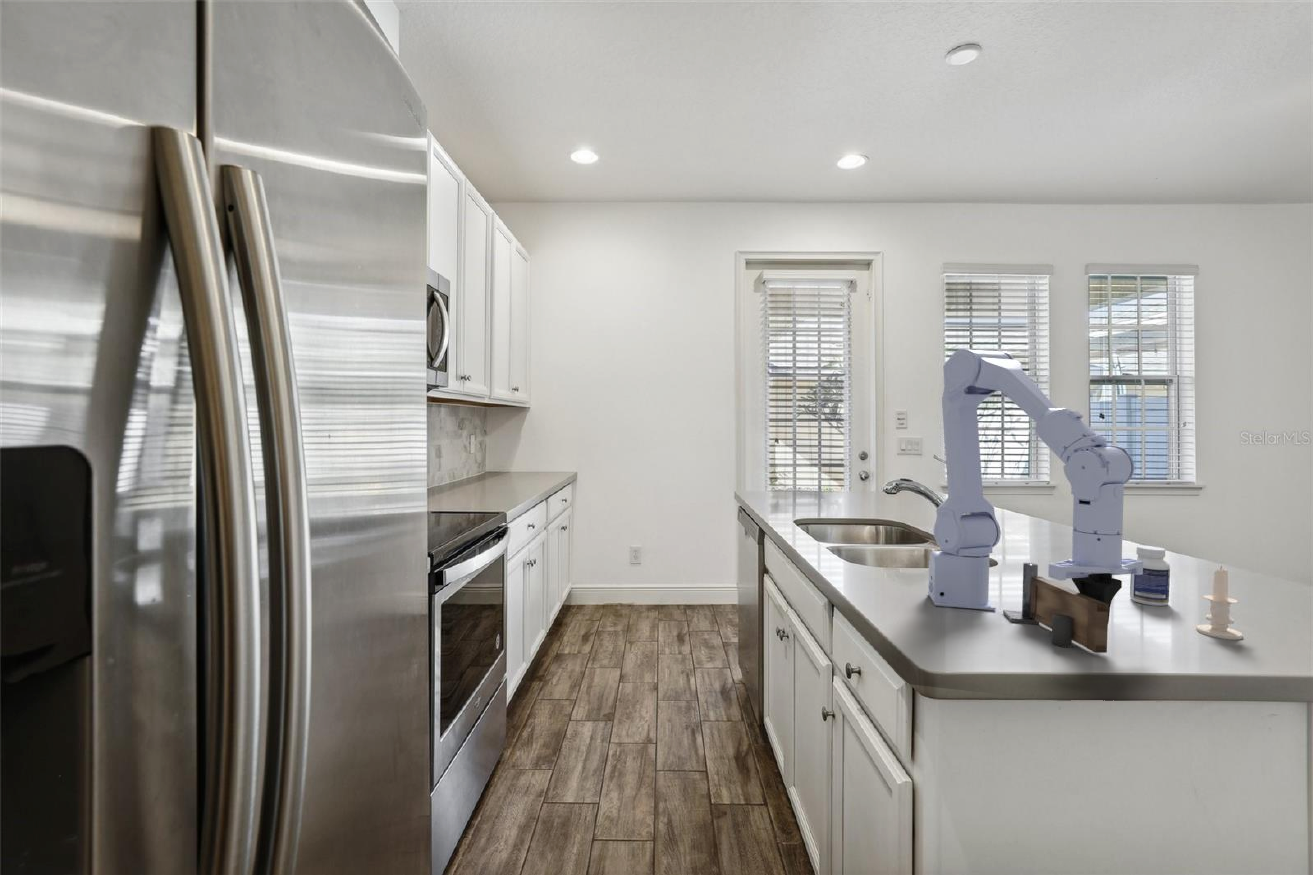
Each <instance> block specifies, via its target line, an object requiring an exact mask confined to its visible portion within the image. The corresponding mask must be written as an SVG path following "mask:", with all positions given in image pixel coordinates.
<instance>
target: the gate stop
mask: <svg viewBox="0 0 1313 875" xmlns="http://www.w3.org/2000/svg"><path fill="white" fill-rule="evenodd" d="M1072 619H1073V618H1072V617H1070V616H1067V615H1062V614H1053V615H1052V629H1051V644H1052V645H1054V646H1057V647H1061V648H1071V647H1072V646H1073V645H1072V644H1073V643H1072V642H1073V640H1072Z"/></svg>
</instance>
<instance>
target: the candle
mask: <svg viewBox="0 0 1313 875" xmlns="http://www.w3.org/2000/svg"><path fill="white" fill-rule="evenodd" d="M1228 572H1229V571H1228V569H1225V568H1224V569H1222V565H1221V566H1220V568H1219V569H1215V570H1214V573H1213V574H1214V575H1213V585H1212V595H1211V594H1205V595H1203V596H1202V598H1204V599H1206V600H1208V601H1209V602H1210V607H1209V610H1210V611H1209V612H1210V614H1205V620H1207V621H1210V623H1209V624H1198V625H1196V631H1197V632H1198V633H1200V634H1202V635H1205V636H1207V637H1208V636H1209V637H1212V638H1215V639H1216V638H1217V639H1222V640H1223V639H1224V640H1229V641H1230V640H1233V641H1237V640H1242V639H1243V637H1244V636H1243V633H1242V632H1240V631H1238V630H1235V629H1233V628H1230V627H1229V625H1231V624H1234V623H1235V620H1234V619H1233V618H1232V617H1229V616H1230V612H1231V610H1230V607H1231V605H1232V604H1236V603H1237V604H1238V602H1239V601H1238V600H1237V599H1235V598H1232V597H1231V598H1230V597H1229V596H1228V594H1229V591H1228V590H1229V589H1228V588H1229V575H1228V574H1229V573H1228Z"/></svg>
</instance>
